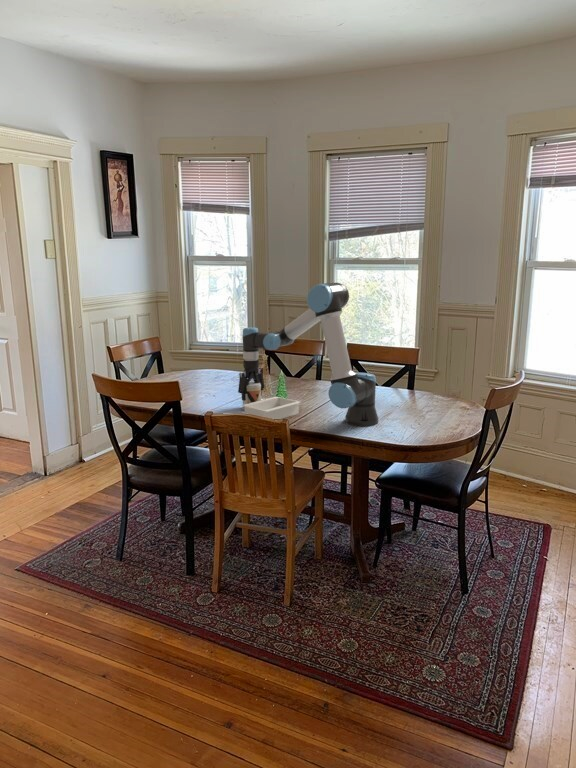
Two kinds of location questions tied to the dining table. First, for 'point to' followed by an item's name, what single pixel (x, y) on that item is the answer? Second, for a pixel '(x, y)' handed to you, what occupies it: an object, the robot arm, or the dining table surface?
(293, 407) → the white rectangular tray
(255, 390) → the coffee cup
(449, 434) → the dining table surface
